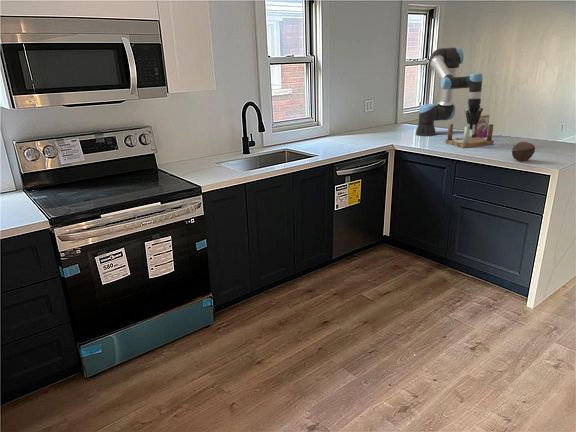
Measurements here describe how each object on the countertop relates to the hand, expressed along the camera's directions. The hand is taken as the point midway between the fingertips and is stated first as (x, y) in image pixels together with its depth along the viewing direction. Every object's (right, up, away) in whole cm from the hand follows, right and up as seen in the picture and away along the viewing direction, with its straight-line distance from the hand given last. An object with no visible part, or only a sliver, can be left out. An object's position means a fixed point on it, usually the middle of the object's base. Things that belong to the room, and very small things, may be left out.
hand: (472, 134), depth 284 cm
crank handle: (-5, -5, +5) cm, 9 cm away
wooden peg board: (+3, -5, +12) cm, 13 cm away
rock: (+12, -23, -38) cm, 47 cm away
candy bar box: (+19, +4, +32) cm, 37 cm away
